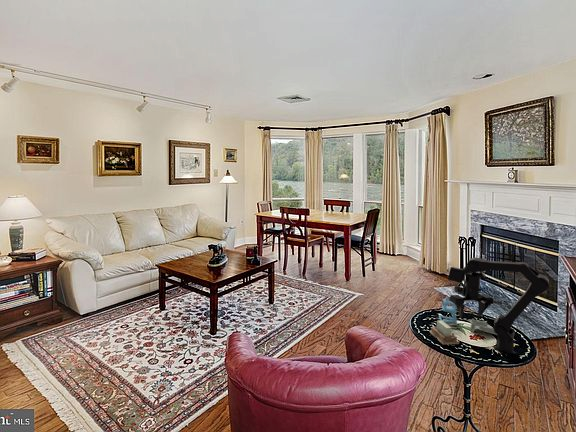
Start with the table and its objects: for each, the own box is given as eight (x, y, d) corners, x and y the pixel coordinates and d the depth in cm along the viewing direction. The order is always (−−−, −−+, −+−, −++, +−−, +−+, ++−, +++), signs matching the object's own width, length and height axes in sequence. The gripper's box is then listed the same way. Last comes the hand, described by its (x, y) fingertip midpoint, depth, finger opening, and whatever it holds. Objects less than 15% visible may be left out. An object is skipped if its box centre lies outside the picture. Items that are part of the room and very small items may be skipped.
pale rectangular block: (450, 339, 162) (451, 327, 162) (445, 340, 162) (446, 328, 161) (441, 331, 171) (442, 320, 170) (436, 332, 170) (437, 320, 170)
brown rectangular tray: (459, 343, 161) (459, 335, 160) (442, 344, 160) (443, 335, 160) (445, 331, 173) (445, 323, 172) (429, 332, 172) (430, 324, 171)
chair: (458, 324, 181) (460, 302, 180) (441, 322, 183) (443, 301, 182) (454, 318, 189) (456, 297, 187) (438, 316, 191) (440, 296, 189)
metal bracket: (481, 327, 166) (465, 314, 181) (477, 338, 167) (461, 324, 182) (509, 335, 167) (490, 322, 182) (504, 346, 167) (486, 332, 182)
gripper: (480, 279, 169) (477, 309, 171) (444, 279, 167) (441, 310, 169) (496, 286, 158) (492, 319, 160) (457, 287, 156) (455, 320, 158)
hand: (469, 316), depth 162 cm, fingers open, 9 cm apart
